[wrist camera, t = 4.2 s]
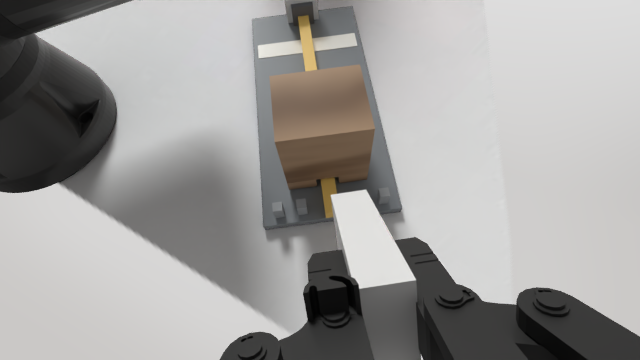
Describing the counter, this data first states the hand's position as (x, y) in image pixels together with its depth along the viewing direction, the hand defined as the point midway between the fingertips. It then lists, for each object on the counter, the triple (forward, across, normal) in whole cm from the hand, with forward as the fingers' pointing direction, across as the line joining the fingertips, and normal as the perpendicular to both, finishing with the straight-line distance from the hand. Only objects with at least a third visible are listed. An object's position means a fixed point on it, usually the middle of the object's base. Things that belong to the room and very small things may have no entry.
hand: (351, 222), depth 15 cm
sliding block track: (+24, 0, +3) cm, 24 cm away
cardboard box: (+18, 0, -2) cm, 18 cm away
